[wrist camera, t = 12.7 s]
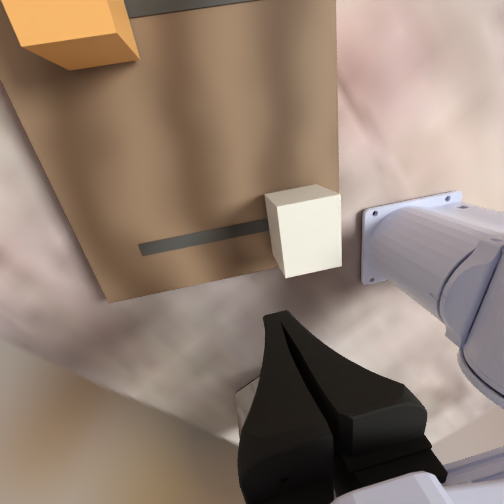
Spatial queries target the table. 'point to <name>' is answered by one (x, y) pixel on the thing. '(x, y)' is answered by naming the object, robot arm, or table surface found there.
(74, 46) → the orange fader
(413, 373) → the table surface
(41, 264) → the table surface
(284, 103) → the console
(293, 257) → the white fader
